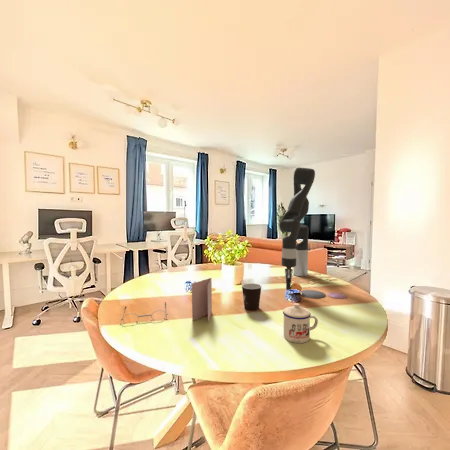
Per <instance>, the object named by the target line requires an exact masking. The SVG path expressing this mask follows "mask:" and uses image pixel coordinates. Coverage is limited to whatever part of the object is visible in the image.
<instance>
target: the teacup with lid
mask: <svg viewBox="0 0 450 450" xmlns="http://www.w3.org/2000/svg"><path fill="white" fill-rule="evenodd" d="M282 314H283V337H284V339H285V340H286V341H289V342H292V343H294V344H304V343H306V342H309V340H310V338H311V334H310V333H311V331H313V330H315V329H316V328H317V327H318V324H319V320H318V318H317V317H316V316H315V315H313V314H311V312H310V310H308V309H307V308H305V307H302V306H300V303H298V302H295V303H293V305H291V306H287V307H285V308H284V309H283V311H282ZM311 319H314V324H313V325H312V326H311V325H310V324H311V321H310V320H311Z"/></svg>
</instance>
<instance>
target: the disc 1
mask: <svg viewBox="0 0 450 450" xmlns="http://www.w3.org/2000/svg"><path fill="white" fill-rule="evenodd" d="M301 292H302V296H301V297H304V298H309V299H324V298H326V297H327V296H326V295H327V294H326V293H324V292H323V291H320V290H314V289H305V290H303V289H302V290H301Z"/></svg>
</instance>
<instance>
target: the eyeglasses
mask: <svg viewBox="0 0 450 450" xmlns="http://www.w3.org/2000/svg"><path fill="white" fill-rule="evenodd" d="M164 304H165V306H167V302H166V301H165V302H164ZM126 308H127V306H125V307H124V310H123V313H122V317H121V319H120V321H122V322H123V323H124V322H125V320H124V318H125V317H127V315H129V313H127V314H125V310H126ZM165 309H166V310H165V311H164V310H162V309H161V310H159V312H162V313H164V314H165V316H164V318H166V316H167V315H169V314H168V313H167V307H165ZM154 313H157V310H155V311H153V312H152V313H151V314H143V315H138V314H136V313H131V315H136V316H137V318H143V317H151V319H152V320H153V319H154V318H153V317H152V316H153V314H154ZM124 314H125V315H124Z"/></svg>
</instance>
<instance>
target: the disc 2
mask: <svg viewBox="0 0 450 450" xmlns="http://www.w3.org/2000/svg"><path fill="white" fill-rule="evenodd" d="M327 296H328V297H329V298H333V299H335V300H336V299H337V300H338V299H339V300H343V299H344V298H345V299H347V298H348V296H347V295H346V294H345V293H340V292H328V293H327Z"/></svg>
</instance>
